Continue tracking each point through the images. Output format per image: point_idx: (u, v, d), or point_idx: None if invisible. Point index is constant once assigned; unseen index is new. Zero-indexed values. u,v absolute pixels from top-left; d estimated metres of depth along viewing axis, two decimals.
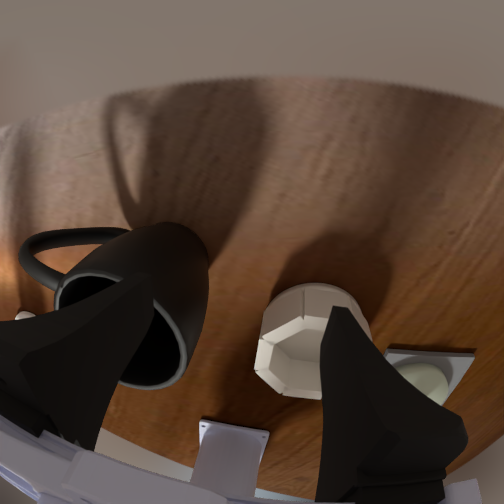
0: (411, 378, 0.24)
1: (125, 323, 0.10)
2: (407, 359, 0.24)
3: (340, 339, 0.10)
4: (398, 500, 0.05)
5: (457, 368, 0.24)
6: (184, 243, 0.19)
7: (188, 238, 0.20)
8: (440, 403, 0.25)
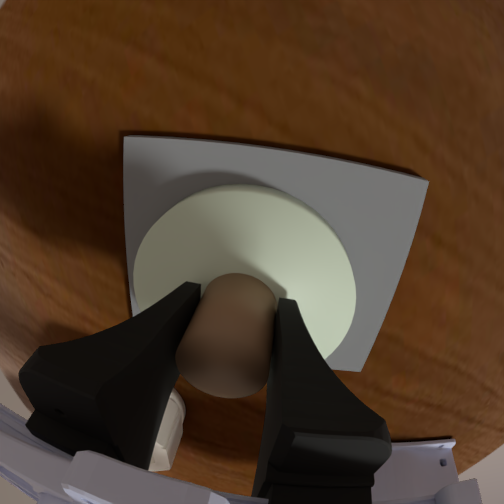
0: None
1: (179, 337, 0.10)
2: None
3: (278, 330, 0.10)
4: (313, 503, 0.05)
5: (154, 173, 0.12)
6: None
7: None
8: (251, 200, 0.11)
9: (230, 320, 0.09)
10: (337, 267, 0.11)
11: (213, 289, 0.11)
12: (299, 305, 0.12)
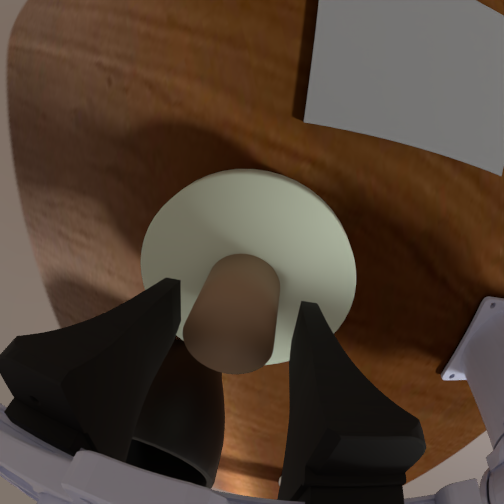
0: None
1: (156, 331, 0.10)
2: (321, 81, 0.13)
3: (304, 334, 0.10)
4: (350, 503, 0.05)
5: None
6: None
7: None
8: (263, 184, 0.11)
9: (240, 295, 0.10)
10: (340, 253, 0.12)
11: (221, 267, 0.12)
12: (301, 288, 0.13)
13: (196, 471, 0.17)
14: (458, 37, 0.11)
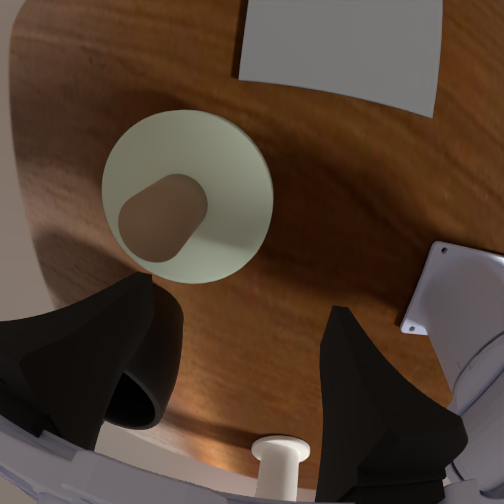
0: (113, 211, 0.16)
1: (125, 323, 0.10)
2: (252, 46, 0.16)
3: (340, 339, 0.10)
4: (398, 500, 0.05)
5: None
6: None
7: None
8: (189, 116, 0.13)
9: (160, 189, 0.12)
10: (253, 168, 0.14)
11: (156, 181, 0.14)
12: (225, 202, 0.15)
13: (152, 407, 0.20)
14: None
